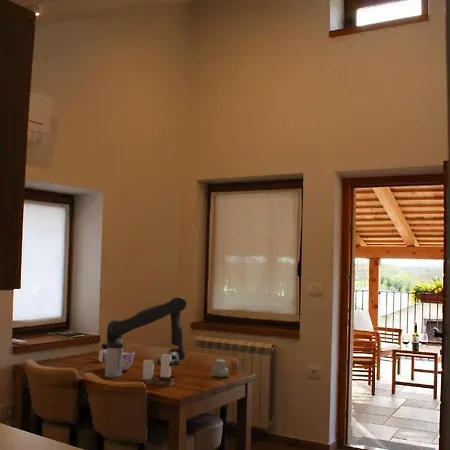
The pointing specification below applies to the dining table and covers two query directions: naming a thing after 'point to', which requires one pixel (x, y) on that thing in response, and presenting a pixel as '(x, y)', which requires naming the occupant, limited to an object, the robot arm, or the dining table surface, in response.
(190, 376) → the dining table surface
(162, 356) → the block
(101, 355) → the medicine bottle
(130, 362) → the bowl of food
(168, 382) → the pallet
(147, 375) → the block
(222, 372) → the air freshener
